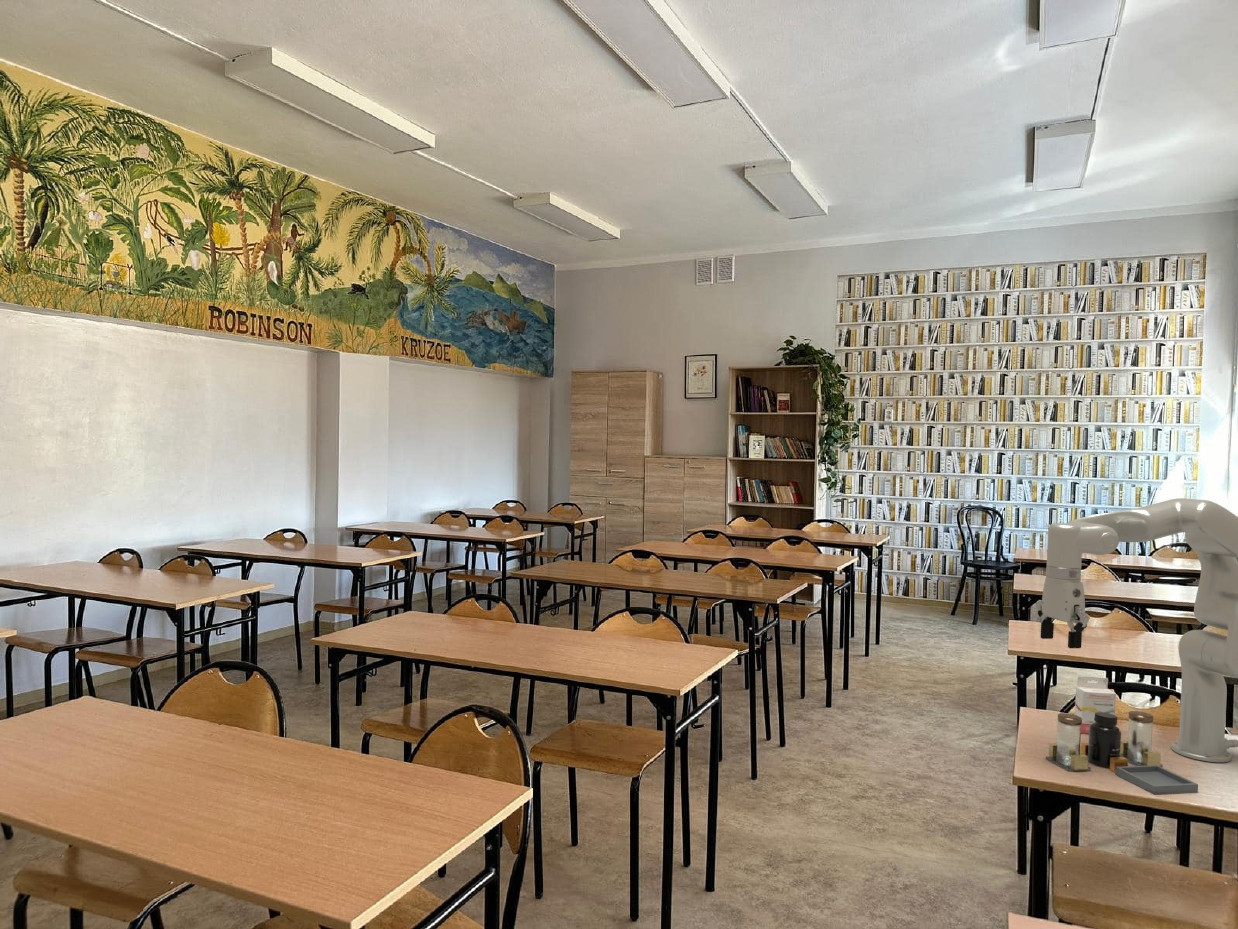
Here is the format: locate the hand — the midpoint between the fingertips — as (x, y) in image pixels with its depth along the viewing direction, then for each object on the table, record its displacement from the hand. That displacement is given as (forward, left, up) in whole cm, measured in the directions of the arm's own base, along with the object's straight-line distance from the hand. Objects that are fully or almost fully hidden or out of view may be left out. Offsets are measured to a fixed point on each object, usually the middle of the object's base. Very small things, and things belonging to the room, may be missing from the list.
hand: (1060, 643), depth 204 cm
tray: (-15, +15, -29) cm, 36 cm away
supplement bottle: (-12, +2, -30) cm, 32 cm away
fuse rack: (-12, +2, -29) cm, 32 cm away
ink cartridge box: (-27, -19, -30) cm, 44 cm away
